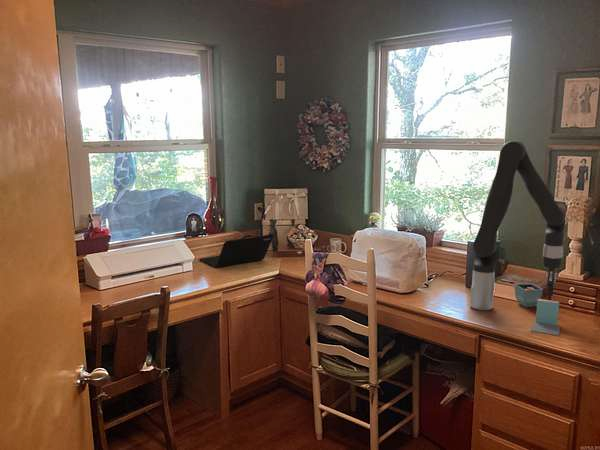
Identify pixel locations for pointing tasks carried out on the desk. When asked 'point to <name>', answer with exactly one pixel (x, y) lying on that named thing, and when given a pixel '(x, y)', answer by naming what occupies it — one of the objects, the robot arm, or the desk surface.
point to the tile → (547, 312)
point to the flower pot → (527, 295)
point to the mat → (545, 329)
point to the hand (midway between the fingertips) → (550, 295)
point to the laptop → (240, 251)
